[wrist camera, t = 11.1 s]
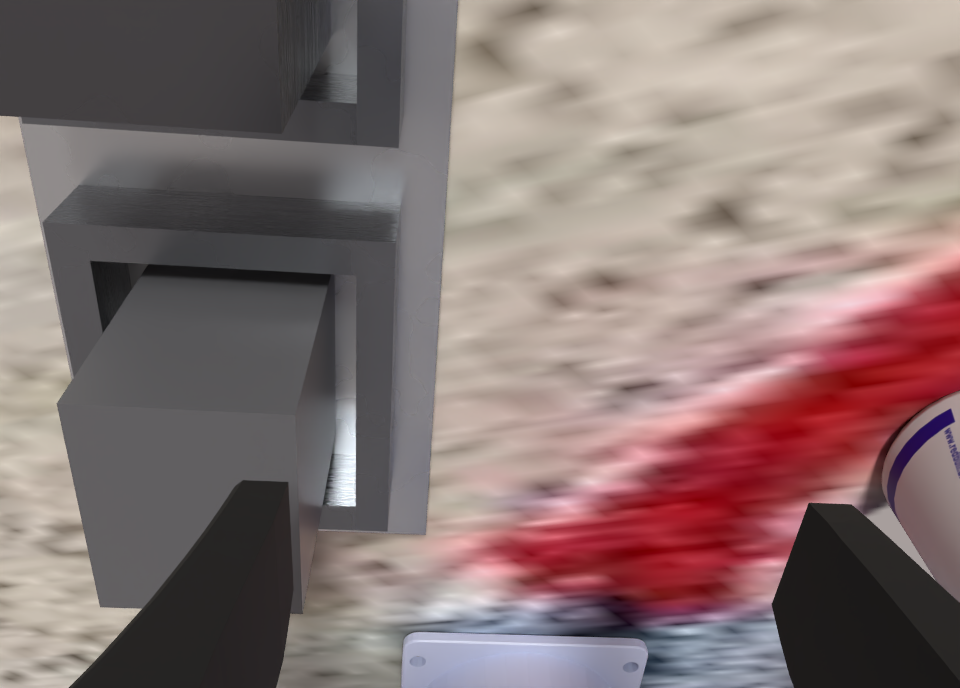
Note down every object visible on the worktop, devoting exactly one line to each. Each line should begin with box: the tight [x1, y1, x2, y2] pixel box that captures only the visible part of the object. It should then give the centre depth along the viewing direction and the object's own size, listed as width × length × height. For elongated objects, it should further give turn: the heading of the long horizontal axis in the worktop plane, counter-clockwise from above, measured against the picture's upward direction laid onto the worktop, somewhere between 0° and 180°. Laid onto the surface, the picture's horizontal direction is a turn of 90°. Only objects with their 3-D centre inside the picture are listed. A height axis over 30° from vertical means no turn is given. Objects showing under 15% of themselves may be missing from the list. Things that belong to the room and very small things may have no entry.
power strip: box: [0, 0, 458, 535], centre depth 17 cm, size 20×9×7 cm, turn 176°
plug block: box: [57, 264, 336, 614], centre depth 19 cm, size 5×4×6 cm
